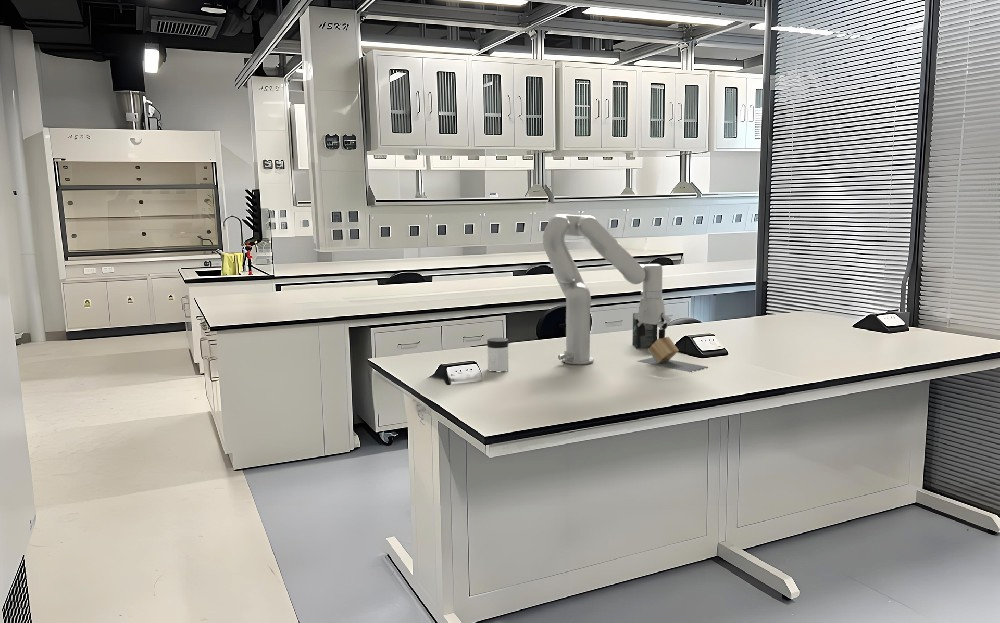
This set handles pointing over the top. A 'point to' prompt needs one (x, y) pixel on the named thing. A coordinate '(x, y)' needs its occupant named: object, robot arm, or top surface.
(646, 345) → the tampon box
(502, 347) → the jar
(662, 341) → the oak block
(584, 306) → the robot arm
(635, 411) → the top surface
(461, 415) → the top surface
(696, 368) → the rubber mat
